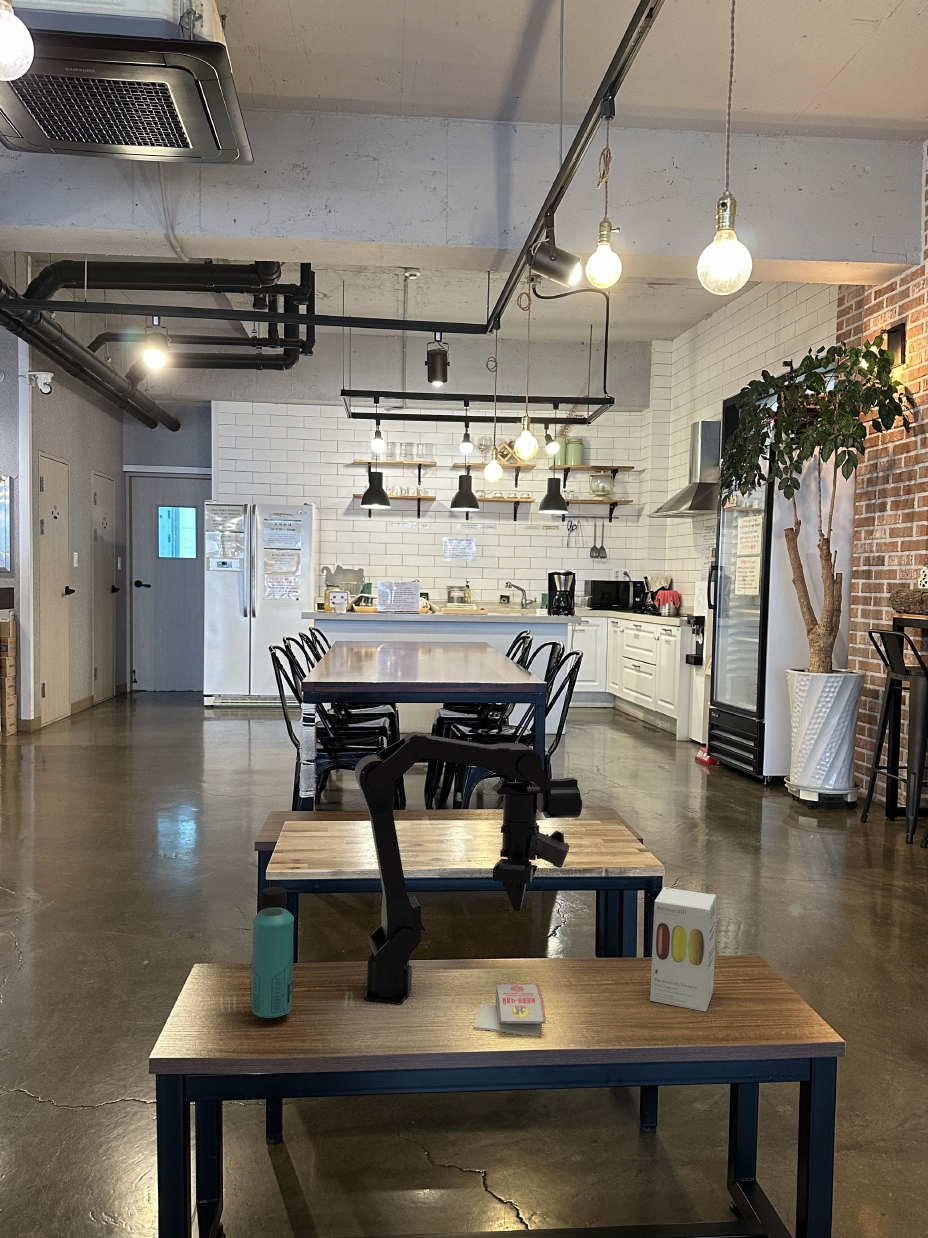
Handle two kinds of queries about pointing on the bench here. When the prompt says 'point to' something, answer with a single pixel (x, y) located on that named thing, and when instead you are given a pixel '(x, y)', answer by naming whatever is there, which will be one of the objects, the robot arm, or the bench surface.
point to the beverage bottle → (272, 956)
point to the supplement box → (683, 948)
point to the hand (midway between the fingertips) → (517, 910)
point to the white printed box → (519, 1003)
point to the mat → (490, 1022)
